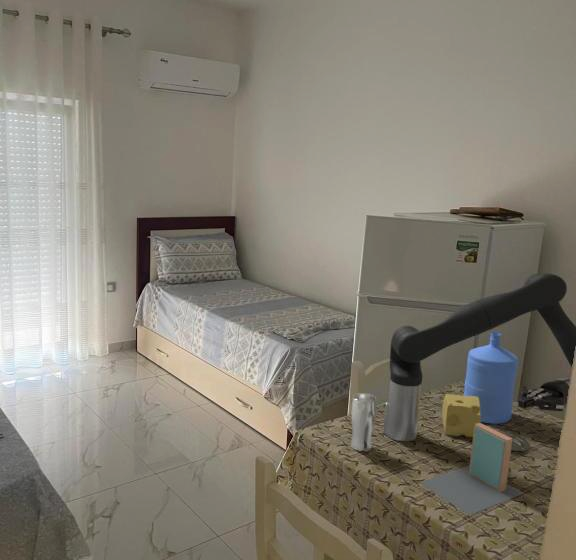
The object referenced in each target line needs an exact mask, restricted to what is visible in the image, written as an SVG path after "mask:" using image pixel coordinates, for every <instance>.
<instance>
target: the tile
mask: <svg viewBox="0 0 576 560" xmlns="http://www.w3.org/2000/svg"><path fill="white" fill-rule="evenodd" d="M512 445H513V438H512V437H510V436H508V435H506V434H504V433H503V432H502V433H501V432H500V431H498V430H496V429H493V428H491V427H490V426H487V425H485V424H483V423H482V422H480V423H477V424H475V426H474V434H473V437H472V444H471V450H470V451H471V454H470V460H469V465H470V468H469V474H470V475H472V476H474V477H475V478H477V479H479V480H480V481H482V482H484V483H485V484H487V485H489V486H490V487H492V488H494V489H496V490H497V491H499V492H503V491H505V490H506V484H508V474H509V469H510V459H511V452H512Z"/></svg>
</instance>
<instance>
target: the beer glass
mask: <svg viewBox="0 0 576 560" xmlns="http://www.w3.org/2000/svg"><path fill="white" fill-rule="evenodd" d="M350 415H351V418H350V420H351V428H352V429H351V430H352V437H351V441H350V448H351V447H352V448H353V450H354V449H355V450H354V451H356V450H359V451H358V452H361V451H365V452H369V451H371V450H372V448H373V447H372V433H373V429H374V425H375V421H376V416H377V396H375V395H373V394H371V393H365V392H359V393H355V394H353V396H352V404H351V412H350ZM352 448H351V449H352Z"/></svg>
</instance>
